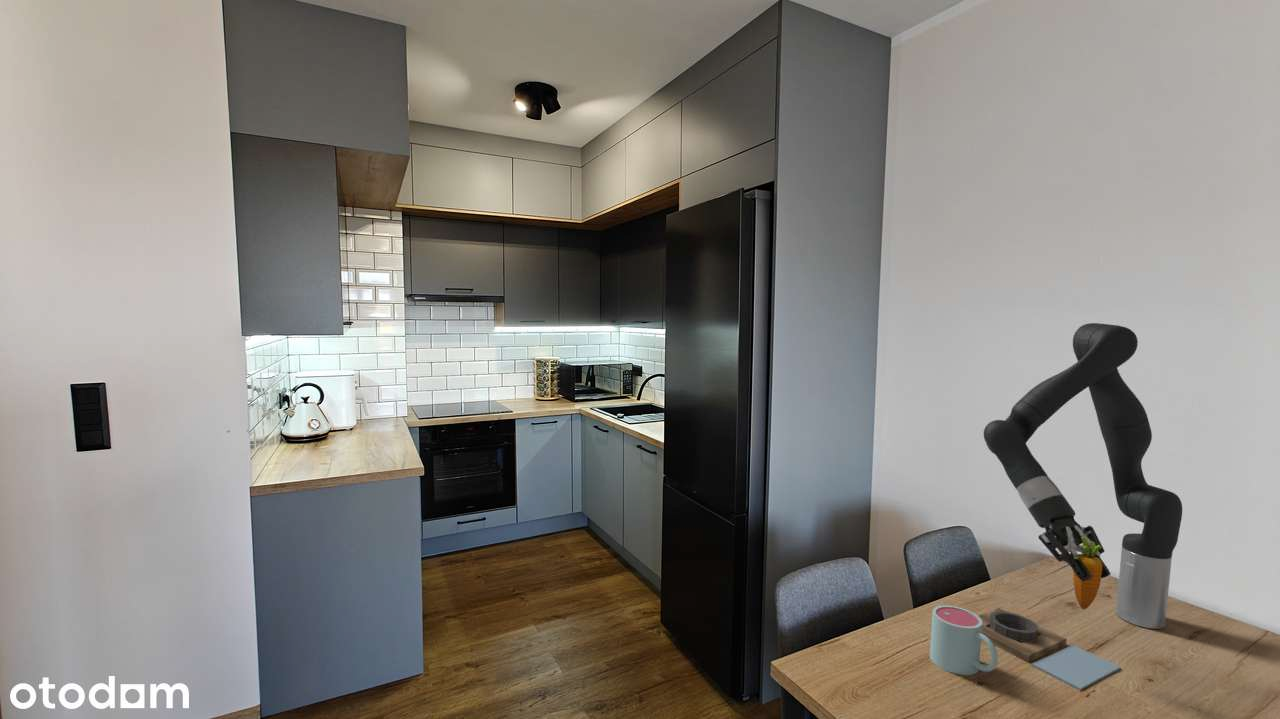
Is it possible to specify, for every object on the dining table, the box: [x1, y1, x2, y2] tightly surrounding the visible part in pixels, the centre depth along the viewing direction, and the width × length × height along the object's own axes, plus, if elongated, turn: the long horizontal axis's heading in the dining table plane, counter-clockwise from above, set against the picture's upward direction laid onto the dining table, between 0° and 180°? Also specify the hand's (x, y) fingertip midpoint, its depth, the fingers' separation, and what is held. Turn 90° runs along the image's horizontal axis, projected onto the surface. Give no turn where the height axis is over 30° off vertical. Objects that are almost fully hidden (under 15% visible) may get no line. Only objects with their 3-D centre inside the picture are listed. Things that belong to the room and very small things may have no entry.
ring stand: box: [978, 608, 1067, 663], centre depth 134 cm, size 15×15×4 cm
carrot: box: [1072, 537, 1103, 610], centre depth 121 cm, size 5×5×15 cm
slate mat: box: [1031, 644, 1121, 691], centre depth 123 cm, size 16×9×1 cm, turn 118°
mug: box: [929, 605, 999, 676], centre depth 121 cm, size 14×9×10 cm
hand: (1096, 577), depth 119 cm, fingers closed on carrot, 4 cm apart
